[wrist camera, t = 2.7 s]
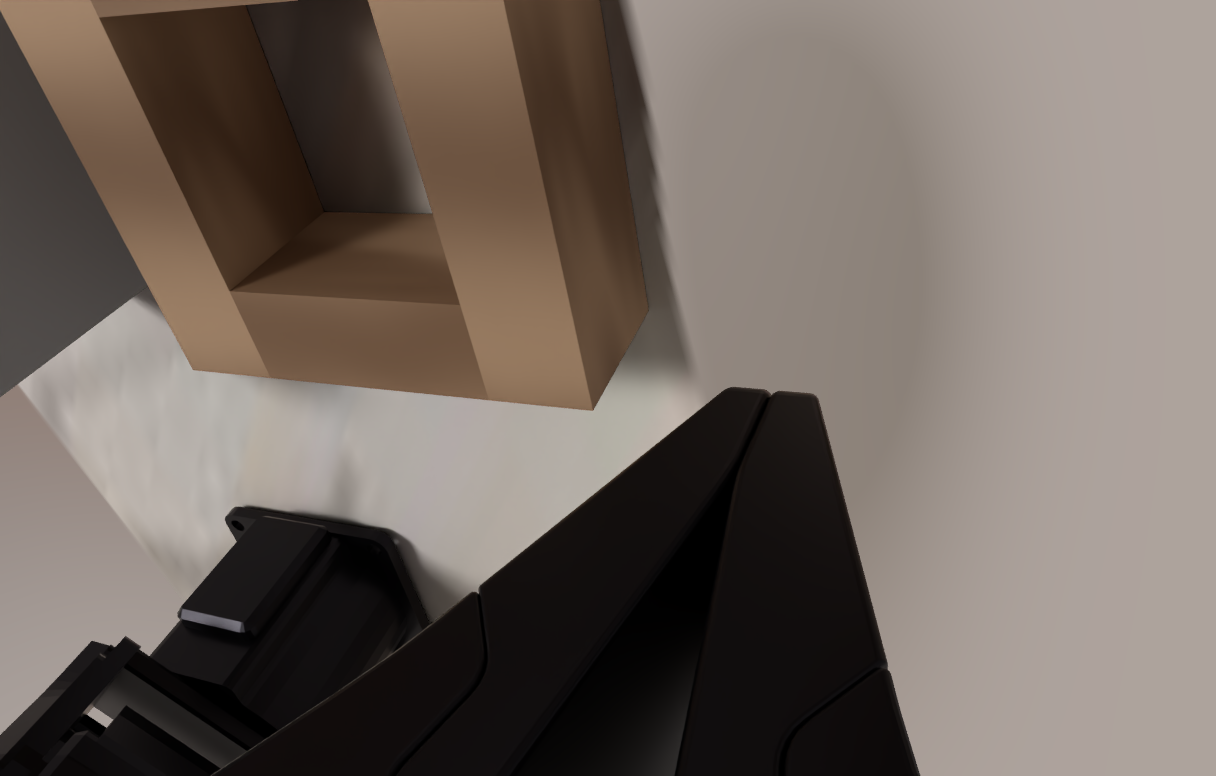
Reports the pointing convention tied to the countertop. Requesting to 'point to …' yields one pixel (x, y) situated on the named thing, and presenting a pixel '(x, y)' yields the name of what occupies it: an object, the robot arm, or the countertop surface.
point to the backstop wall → (49, 231)
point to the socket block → (364, 242)
